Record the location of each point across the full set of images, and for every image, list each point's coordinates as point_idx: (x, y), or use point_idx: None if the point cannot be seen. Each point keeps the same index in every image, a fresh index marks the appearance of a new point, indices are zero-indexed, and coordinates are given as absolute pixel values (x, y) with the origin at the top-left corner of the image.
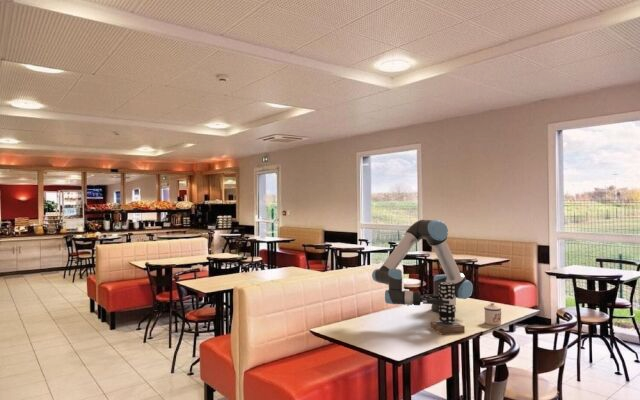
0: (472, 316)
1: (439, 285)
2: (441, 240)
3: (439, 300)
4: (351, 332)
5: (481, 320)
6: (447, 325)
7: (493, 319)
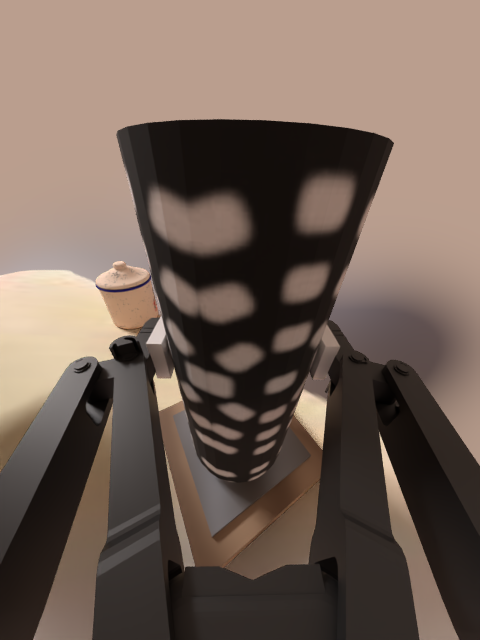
0: (33, 352)
1: (351, 186)
2: None
3: (418, 378)
4: None
5: (99, 334)
6: (287, 432)
7: (154, 304)
